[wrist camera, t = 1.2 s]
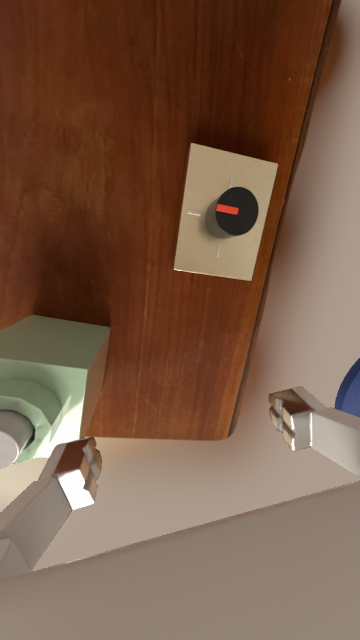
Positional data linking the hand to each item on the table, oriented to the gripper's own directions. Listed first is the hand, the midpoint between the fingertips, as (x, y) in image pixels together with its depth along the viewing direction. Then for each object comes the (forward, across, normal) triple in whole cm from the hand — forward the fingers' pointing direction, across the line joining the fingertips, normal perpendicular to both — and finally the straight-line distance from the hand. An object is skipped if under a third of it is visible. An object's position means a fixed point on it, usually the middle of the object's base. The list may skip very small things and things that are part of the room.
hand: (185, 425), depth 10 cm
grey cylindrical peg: (+8, -14, -3) cm, 16 cm away
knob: (+18, +9, +10) cm, 23 cm away
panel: (+22, +9, +10) cm, 25 cm away
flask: (+21, -14, -3) cm, 26 cm away
